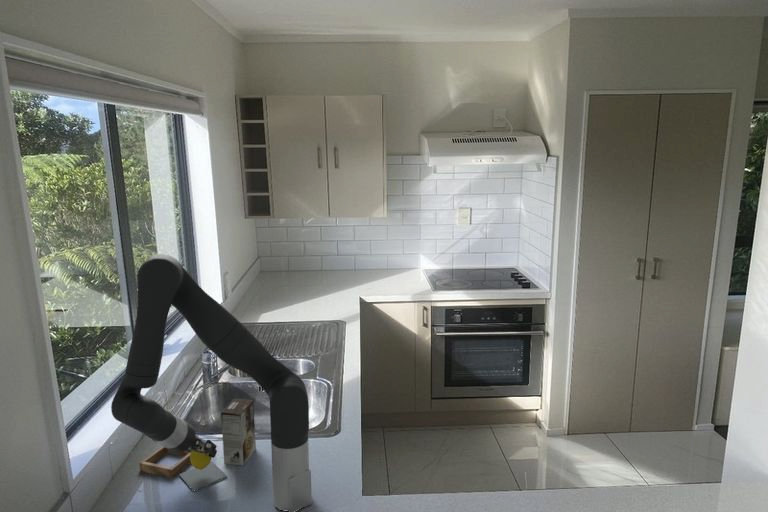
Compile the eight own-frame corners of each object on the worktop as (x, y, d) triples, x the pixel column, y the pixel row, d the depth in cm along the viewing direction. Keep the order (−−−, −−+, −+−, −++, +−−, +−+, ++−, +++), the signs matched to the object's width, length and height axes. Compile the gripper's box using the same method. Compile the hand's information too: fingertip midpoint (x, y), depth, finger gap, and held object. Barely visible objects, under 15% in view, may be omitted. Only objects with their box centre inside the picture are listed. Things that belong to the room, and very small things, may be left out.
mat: (227, 477, 148) (227, 475, 148) (193, 491, 142) (193, 490, 142) (212, 462, 155) (211, 461, 155) (178, 475, 149) (178, 474, 149)
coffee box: (236, 447, 163) (233, 397, 160) (256, 449, 162) (254, 399, 159) (223, 463, 154) (219, 411, 151) (244, 466, 153) (241, 413, 150)
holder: (197, 456, 158) (197, 449, 158) (172, 478, 148) (171, 469, 147) (166, 450, 161) (166, 443, 161) (139, 470, 151) (139, 462, 151)
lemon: (194, 477, 144) (192, 450, 142) (188, 468, 148) (186, 441, 147) (214, 470, 147) (213, 444, 146) (208, 461, 152) (207, 435, 150)
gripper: (203, 422, 135) (232, 442, 149) (156, 414, 140) (188, 434, 153) (190, 452, 131) (222, 470, 145) (142, 442, 136) (177, 461, 149)
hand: (204, 451), depth 149 cm, fingers closed on lemon, 5 cm apart
